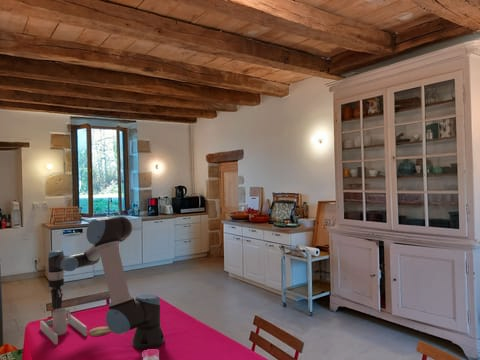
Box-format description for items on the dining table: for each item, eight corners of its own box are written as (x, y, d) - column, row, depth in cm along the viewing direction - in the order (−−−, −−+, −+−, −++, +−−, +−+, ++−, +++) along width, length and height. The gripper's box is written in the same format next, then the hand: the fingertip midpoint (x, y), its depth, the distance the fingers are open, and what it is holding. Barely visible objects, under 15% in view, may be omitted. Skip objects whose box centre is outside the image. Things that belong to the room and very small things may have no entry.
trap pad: (62, 323, 211) (62, 321, 211) (47, 326, 206) (47, 325, 206) (58, 319, 217) (58, 318, 217) (43, 322, 212) (43, 321, 212)
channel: (87, 335, 194) (86, 326, 194) (55, 344, 183) (55, 335, 183) (70, 321, 213) (69, 313, 213) (40, 329, 203) (40, 321, 203)
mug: (58, 336, 193) (58, 313, 193) (49, 334, 196) (49, 311, 196) (75, 329, 202) (74, 307, 202) (66, 327, 205) (66, 305, 205)
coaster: (114, 331, 198) (114, 330, 198) (93, 338, 191) (93, 336, 191) (106, 325, 206) (106, 324, 206) (85, 331, 199) (85, 330, 199)
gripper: (67, 279, 203) (68, 322, 204) (59, 275, 213) (60, 316, 213) (52, 282, 198) (53, 326, 199) (45, 277, 208) (46, 320, 208)
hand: (57, 321), depth 206 cm, fingers closed
